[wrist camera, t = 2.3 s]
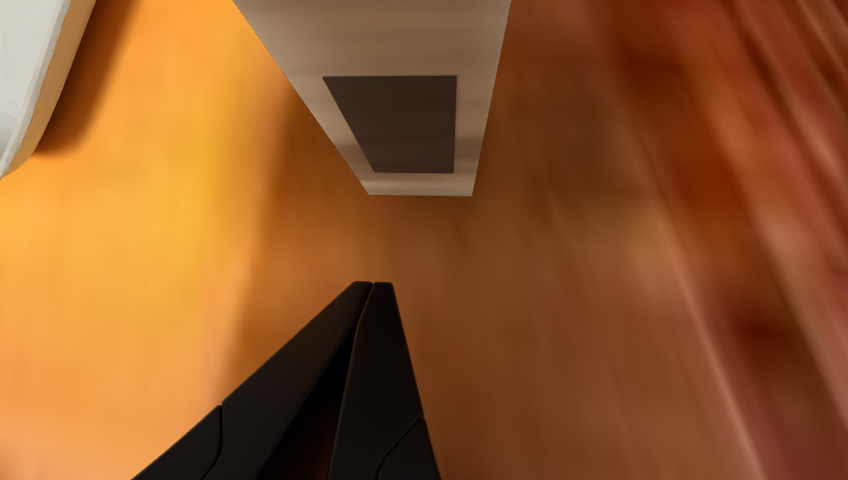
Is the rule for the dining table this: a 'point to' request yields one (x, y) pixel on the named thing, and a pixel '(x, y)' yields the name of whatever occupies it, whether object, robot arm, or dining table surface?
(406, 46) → the metal block
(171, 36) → the dining table surface
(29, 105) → the square plate
